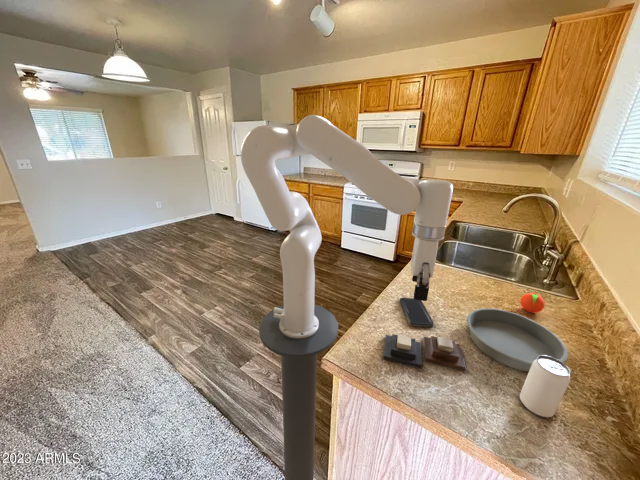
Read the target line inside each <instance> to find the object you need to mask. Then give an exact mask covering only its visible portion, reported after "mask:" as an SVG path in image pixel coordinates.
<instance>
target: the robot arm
mask: <svg viewBox="0 0 640 480" xmlns="http://www.w3.org/2000/svg"><path fill="white" fill-rule="evenodd" d="M307 155H311V156H313V157H315V158H316V159H317V160H319V161H321V162H322V163H324V164H325V165H326V166H328V167H330V168H331V169H332V170H333V171H334V172H337V173H338V174H340V175H341V176H342V177H344V179H346V180H347V181H348V182H349V183H351V184H352V185H353V186H354V187H356V188H357V189H358V190H359V191H360V192H362V193H363V194H364V195H366V196H367V197H368V198H370V199H371V200H373V201H374V202H376V203H377V204H378V205H380V206H382V207H383V208H384V209H386V210H387V211H389V212H391V213H393V214H395V215H400V216H404V215H405V216H406V215H409V214H411V213H413V212H414V218H413V224H412V232H411V236H413V237H414V241H413V247H412V253H411V259H410V270H411V275H412V279H411V281H412V282H414V283H416V284H415V285H414V291H413V298H414V299H415V300H421V301H422V302H427V301H428V298H429V297H428V296H429V292H430V291H429V290H430V279H432V278H433V276H434V272H435V266H436V261H437V255H438V248H439V241H443V240H444V239H445V234H446V229H447V223H448V219H449V212H450V208H451V202H452V197H453V191H454V185H453V183H452V182H450V181H448V180H443V179H417V178H412V177H406V176H402V175H400V174H398V173H397V172H395V171H394V170H392V169H391V168H389V167H388V166H387V165H386V164H384V163H383V162H382V161H380V159H378V158H377V157H376V156H375V155H374V154H373V152H372V151H370V150H369V149H368V148H367V147H366V146H365V145H364V144H362V143H361V142H359V141H357V140H356V139H355V138H353V137H352V136H350V135H349V134H347V133H345V132H344V131H342V130H341V129H339V127H337V126H336V125H334V124H333V123H332V122H331V121H329V120H328V119H327V118H325V117H323V116H320V115H318V114H317V115H316V114H310V115H307V116H305V117H303V118H302V119H301V120H300V121H299V123H297V124H292V125H287V126H276V125H269V124H265V125H263V124H262V125H258V126H256V127H254V128H253V129H251V130H249V132H248V133H247V134H246V136H245V138H244V139H243V142H242V144H241V148H240V160H241V161H240V162H241V165H242V168H243V171H244V173H245V175H246V178H247V179H248V181H249V182H250V185H251V186H252V189H253V190H254V193H255V196H256V197H257V200H258V201H259V203H260V206H261V207H262V210H263V211H264V214H265V217H266V218H267V220H268V223H269V224H270V225H271V227H272V228H273V229H275V230H276V231H278V232H286V231H289V234H288V235H287V236H286V237H285V238H284V240H283V241H282V243H281V246H280V248H279V259H280V263H281V268H282V285H283V287H282V288H283V290H282V291H283V305H284V309H280V308H277V307H278V306H277V307H276V306H274V308H273V309H274V310H273V309H272V310H273V313H274V316H273V317H274V318H280V323H279V327H280V330H281V332H282V333H283V334H284V335H286V336H288V337H291V338H297V339H299V338H306V337H309V336H311V335H313V334H314V333H315V332H316V331H317V330H318V327H319V321H318V319H317V317H316V316H315V315H314V305H315V295H316V294H315V293H316V291H315V290H316V269H315V256H316V254H317V252H318V250H319V248H320V247H321V244H322V241H323V237H322V236H323V235H322V232H321V229H320V226H319V224H318V222H317V220H316V217H315V216H314V213H313V211H312V209H311V207H310V204H309V202H308V200H307V199H306V198H305V197H304V196H303V195H302V194H301V193H299V192H296V191H290V190H289V187H288V185H287V182H286V180H285V178H284V176H283V175H282V173H281V171H280V170H279V169H278V167H277V166H276V161H281V160H288V159H291V158H297V157H302V156H307ZM280 314H281V315H280Z"/></svg>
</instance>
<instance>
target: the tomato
mask: <svg viewBox="0 0 640 480" xmlns="http://www.w3.org/2000/svg"><path fill="white" fill-rule="evenodd" d="M519 302H520V306H521V307H522V309H523V310H525V311H527V312H528V313H536V314H537V313H539V312H540V313H541V311H543V310H544V309H545V305H546V303H545V300H544V298H543V297H542V296H541V295H539V294H537V293H535V292H527V293H525V294H523V295H521V297H520V300H519Z"/></svg>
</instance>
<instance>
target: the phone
mask: <svg viewBox="0 0 640 480" xmlns="http://www.w3.org/2000/svg"><path fill="white" fill-rule="evenodd" d="M399 303H400V306H401V308H402V311H403V313H404V315H405V318H406V321H407V323H408V325H410V326H412V327H424V328H426V327H427V328H432V327H433V326H434V321H433V319H432V317H431V315H430V314H429V312H428V310H427V308H426V307H425V305H424V302H423V301H421V300H415V299H414V297H400V298H399Z"/></svg>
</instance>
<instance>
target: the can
mask: <svg viewBox="0 0 640 480" xmlns="http://www.w3.org/2000/svg"><path fill="white" fill-rule="evenodd" d="M571 373H572V372H571V369H570V368H569V366H567V364H565V362H564V363H562V362H561V361H559V360H557V359H555V358H553V357H550V356H545V355H541V356H538V357H537V359H536V360H534V361H533V363H532V365H531V368H530V370H529V372H527V375H526V378H525V379H524V380H525V381H524V383H523V386H522V388H521V391H520V394H519V399H520V402H521V403H522V404H523V406H524V407H525V408H526V409H527V410H529V411H530V412H531V413H533V414H534V415H537V416H539V417H542V418H552V417H554V415H555V414H556V412H557V410H558V408H559V406H560V404H561V402H562V400H563V398H564V396H565V394H566V391H567V389H568V388H569V385H570V383H571Z"/></svg>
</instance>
